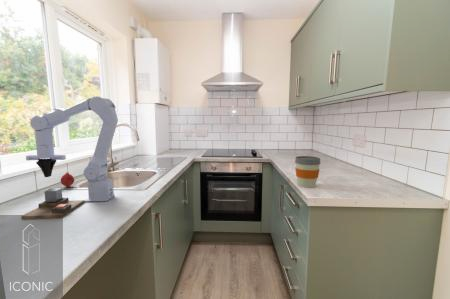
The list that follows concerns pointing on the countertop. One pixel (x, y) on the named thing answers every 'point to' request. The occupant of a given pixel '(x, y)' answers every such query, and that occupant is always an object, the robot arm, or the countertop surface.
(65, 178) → the onion
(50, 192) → the block
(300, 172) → the reusable coffee cup
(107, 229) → the countertop surface
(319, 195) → the countertop surface
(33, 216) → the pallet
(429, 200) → the countertop surface
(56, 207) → the button
